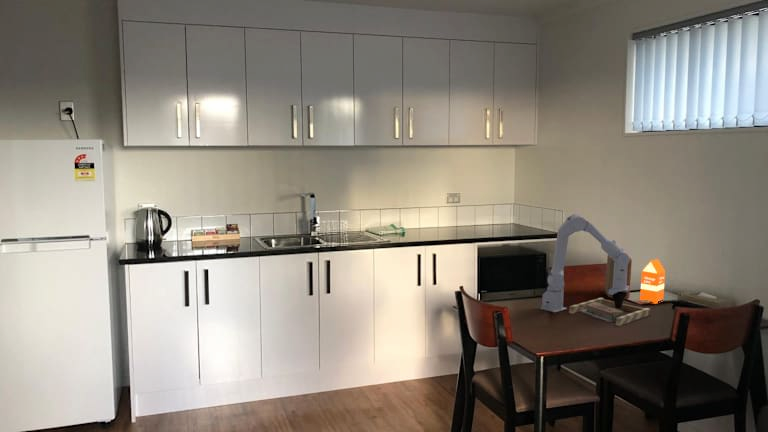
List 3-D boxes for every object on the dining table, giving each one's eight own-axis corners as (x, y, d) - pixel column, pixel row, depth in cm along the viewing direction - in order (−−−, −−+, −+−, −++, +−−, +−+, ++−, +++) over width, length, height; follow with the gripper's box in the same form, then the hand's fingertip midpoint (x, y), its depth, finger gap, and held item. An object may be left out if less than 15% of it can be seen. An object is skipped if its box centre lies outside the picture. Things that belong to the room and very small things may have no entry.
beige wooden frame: (619, 325, 259) (619, 318, 258) (569, 313, 277) (569, 306, 277) (649, 315, 275) (650, 308, 275) (600, 303, 293) (600, 297, 293)
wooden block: (629, 299, 302) (632, 258, 300) (608, 297, 304) (610, 257, 302) (626, 294, 312) (628, 254, 310) (605, 293, 314) (607, 253, 312)
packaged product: (628, 310, 267) (610, 312, 263) (627, 321, 267) (609, 323, 263) (597, 300, 283) (580, 302, 279) (596, 310, 284) (579, 312, 279)
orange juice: (663, 300, 300) (666, 259, 298) (655, 303, 294) (658, 262, 292) (647, 297, 306) (649, 257, 303) (639, 300, 300) (642, 259, 297)
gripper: (619, 282, 271) (617, 312, 273) (636, 277, 280) (634, 307, 282) (604, 279, 276) (603, 309, 278) (622, 274, 286) (620, 303, 287)
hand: (618, 307), depth 280 cm, fingers closed
